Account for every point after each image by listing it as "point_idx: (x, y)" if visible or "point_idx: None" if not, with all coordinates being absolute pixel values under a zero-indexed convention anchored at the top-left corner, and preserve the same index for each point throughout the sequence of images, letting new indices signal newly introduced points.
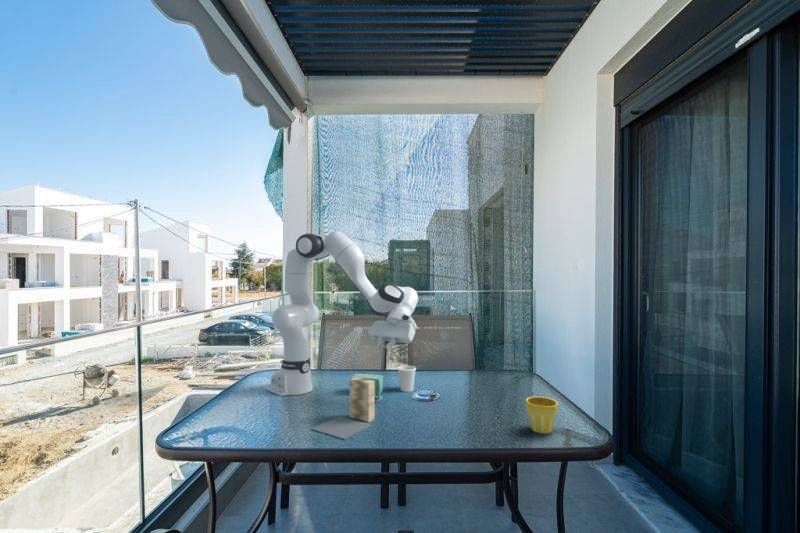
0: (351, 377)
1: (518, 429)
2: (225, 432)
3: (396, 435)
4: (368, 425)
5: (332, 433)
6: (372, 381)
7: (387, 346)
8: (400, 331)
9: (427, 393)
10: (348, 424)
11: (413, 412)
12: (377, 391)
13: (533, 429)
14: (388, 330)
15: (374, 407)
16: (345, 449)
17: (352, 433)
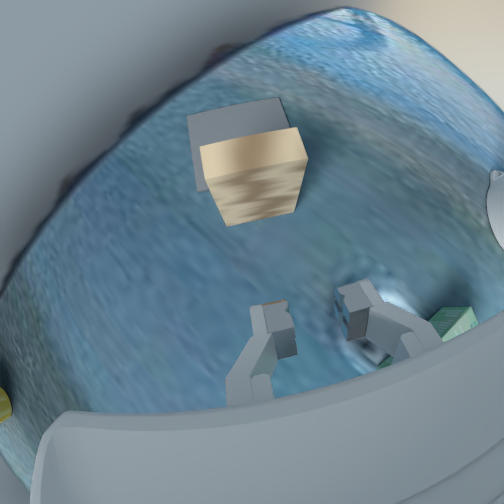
0: (468, 309)
1: (14, 385)
2: (356, 38)
3: (121, 202)
4: (199, 183)
5: (224, 110)
6: (203, 167)
7: (254, 309)
8: (150, 500)
9: None
10: None
11: (185, 341)
12: (384, 366)
13: (1, 389)
14: (396, 458)
15: (222, 215)
16: (158, 105)
17: (192, 136)
